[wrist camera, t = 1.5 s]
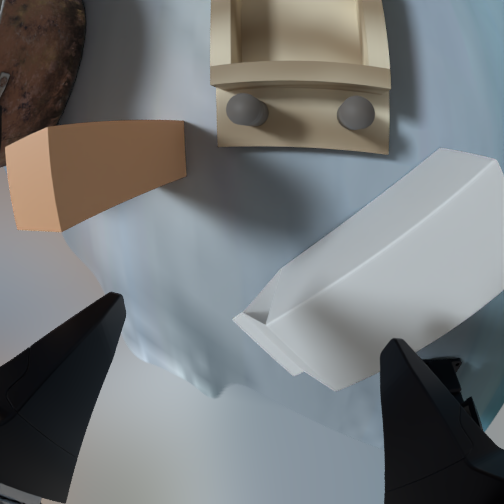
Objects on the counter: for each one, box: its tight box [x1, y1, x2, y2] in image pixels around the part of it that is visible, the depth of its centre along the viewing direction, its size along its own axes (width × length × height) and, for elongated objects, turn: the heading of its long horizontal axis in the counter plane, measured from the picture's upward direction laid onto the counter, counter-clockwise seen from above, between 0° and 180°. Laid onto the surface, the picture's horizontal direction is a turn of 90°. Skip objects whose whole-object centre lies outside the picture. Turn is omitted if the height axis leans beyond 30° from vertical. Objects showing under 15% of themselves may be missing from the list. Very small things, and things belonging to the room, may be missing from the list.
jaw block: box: [5, 120, 187, 232], centre depth 14 cm, size 4×4×12 cm
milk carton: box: [233, 148, 504, 392], centre depth 16 cm, size 7×7×19 cm
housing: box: [210, 0, 391, 155], centre depth 12 cm, size 14×11×4 cm
